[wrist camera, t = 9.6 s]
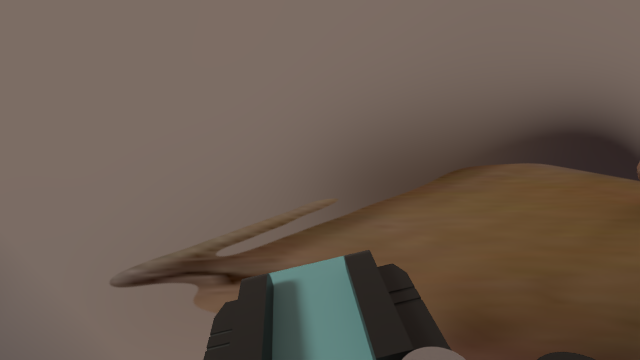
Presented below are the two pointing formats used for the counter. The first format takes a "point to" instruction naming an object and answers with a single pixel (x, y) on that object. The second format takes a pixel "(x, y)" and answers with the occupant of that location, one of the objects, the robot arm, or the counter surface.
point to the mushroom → (638, 170)
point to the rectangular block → (317, 314)
